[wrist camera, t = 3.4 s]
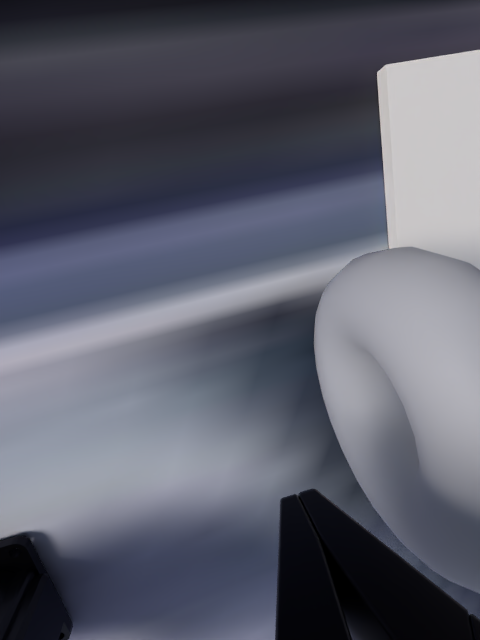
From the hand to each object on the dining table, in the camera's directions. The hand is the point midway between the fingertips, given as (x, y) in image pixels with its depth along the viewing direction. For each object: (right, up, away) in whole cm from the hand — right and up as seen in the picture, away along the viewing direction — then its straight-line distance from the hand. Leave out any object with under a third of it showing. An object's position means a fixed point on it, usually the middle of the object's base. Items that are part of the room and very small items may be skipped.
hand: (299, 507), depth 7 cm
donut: (+3, +3, +8) cm, 9 cm away
